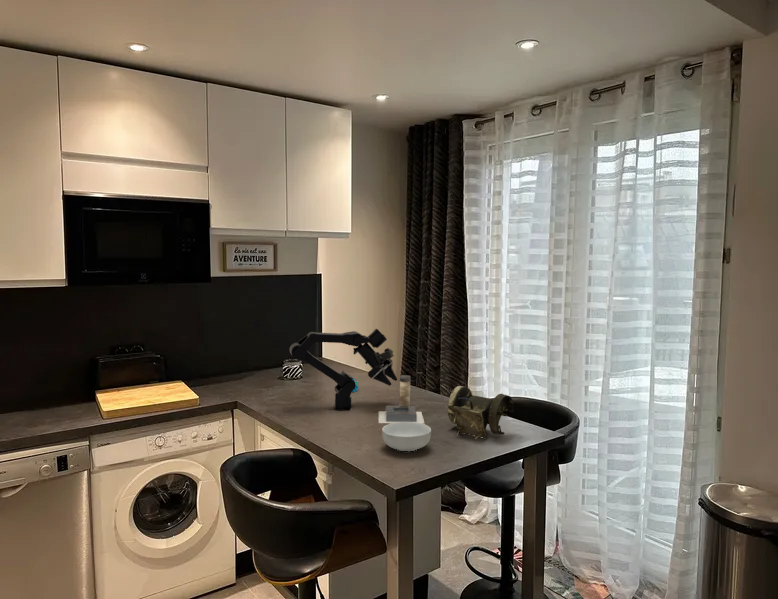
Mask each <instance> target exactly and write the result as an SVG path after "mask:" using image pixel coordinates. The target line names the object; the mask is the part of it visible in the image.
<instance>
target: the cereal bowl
mask: <svg viewBox="0 0 778 599" xmlns="http://www.w3.org/2000/svg"><path fill="white" fill-rule="evenodd" d="M381 433H382V434H381V436H382V439H383V441H384V443H385V444H386V445H387V446H388V447H390V448H392V449H394V450H396V449H397V450H396V451H398V450H400V451H414V452H416V451H418V450H419V449H422V448H423V447H425V446H426V445H428V443H429V442H430V440H431V437H432V429H431V427H430V425H428V424H421V423H416V422H396V423H387V424H386V425H384V426H383V427H382V428H381ZM417 449H418V450H417ZM415 450H416V451H415ZM400 451H399V452H400Z"/></svg>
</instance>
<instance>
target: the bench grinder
mask: <svg viewBox="0 0 778 599" xmlns="http://www.w3.org/2000/svg"><path fill="white" fill-rule="evenodd" d="M514 409H515V407H514V401H513V398H512V397H511V396H510V395H508V394H503V393H498V394H497V395H496V396H494V398H493V399H492V398H490V397H483V396H479V395H473V393H472V391H471V389H470V388H469V387H468V386H461V385H458V386H456V387H455V388H453V390H451V393H450V396H449V399H448V402H447V416H448V419H449V421H450V422H451V423H452V424H455V425H456V428H457V433H456V436H459V434H462V433H465V434H464V435H466V434H470V435H475V436H477V437H474V440H477V439H478V437H483V438H486V439H487V436H488V434H487V431H486V429H487V426H488V427H489V430H490V431H491V433H492V434H495V435H498V436H504V435H505V432H504V431H502V428H501V425H499V423H500V420H501V417H508V414H507V413H504V412H510V413H514ZM459 432H461V433H459ZM470 435H469V436H470Z"/></svg>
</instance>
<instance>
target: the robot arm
mask: <svg viewBox="0 0 778 599" xmlns="http://www.w3.org/2000/svg"><path fill="white" fill-rule="evenodd" d="M386 341H387V337H386V336H385V335H384V334H383V333H382V332H381V331H380V330H379V329H378V328H375V329H374V330H373V331H372V332H371V333H370V334H369V335H367V336H366V335H363V334H361V333H359V332H358V331H355V330H353V331H346V332H341V333H338V332H337V333H335V332H332V333H331V332H315V331H310V332H308V333H307V334H306V335H305V336H304V337H302V338H301V339H299V341H297V342H294V343H292V344H291V345H290V347H289V353H290V355H291V356H292V357H293V358H294V359H296V360H298V361H301V362H303V363H307V364H308V365H310V366H311V367H313V368H315V369H316V370H318V371H319V372H320V373H323V374H324V375H325V376H326V377H328V378H330V379H331V380H332V381H334V382H335V383H336V385H335V386H334V391H335V394H334V396H335V397H334V400H335V401H334V402H335V403H334V410H336V411H350V410H351V408H352V396H351V395H352V393H353V392H352V391H353V390H355V382H356V381H355V380H354V381H353V380H352V379H353V378H354V377H353V376H352V375H350V374H347V373H346V372H345V371H344V370H342V371H341V372H339V371H337V370H336V369H333V368H332V367H330V366H329V365H328V364H326V363H324V362H323V361H322V360H320V359H318V358H317V357H316V356H315V355H313V354H311V352H309V351H308V350H310V348H311V347H312V346H313V345H314V344H315V343H331V344H332V343H333V344H343V345H348V346H352V347H353V355H357V354H359V355H360V356H361V357H362V359H363V360H364V363H365V364H366V365H368V366H369V367H370V368H371V369H370V370H369V371H368V373H367V374H368V375H367V376H368V377H369V378H370V379H372V380H376V381H378V382H381V383H383V384H385V385H387V386H388V387H389V386H392V383H391V380H393V381H395V382H397V380H398V377H397V376H396V373H395V371H394V369H393V364H394V361H393V359H392V358H394V351H393V350H392V349H390V348H389V347H387V348H385V349H384V351H383V352H381V353H380V352H379V351H378V352H377V351H376V350H374V349H378V348H380V347H381V346H382V345H383V344H384V343H385V342H386ZM389 378H390V379H391V380H390V379H389Z"/></svg>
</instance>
